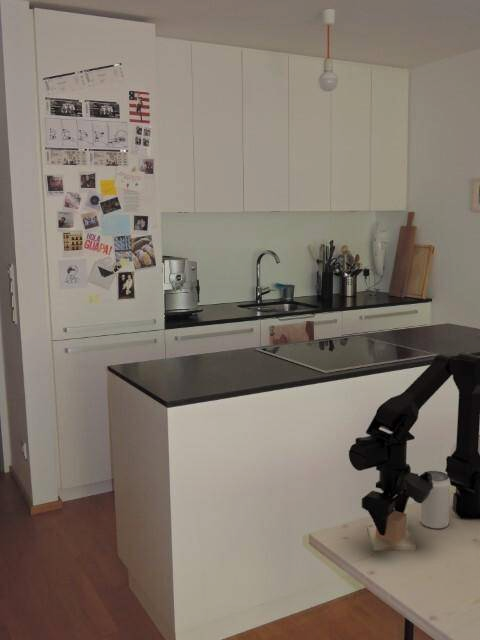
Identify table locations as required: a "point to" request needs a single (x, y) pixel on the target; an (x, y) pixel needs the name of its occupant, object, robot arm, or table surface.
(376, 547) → the coaster
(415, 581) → the table surface
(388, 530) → the cube
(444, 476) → the can
